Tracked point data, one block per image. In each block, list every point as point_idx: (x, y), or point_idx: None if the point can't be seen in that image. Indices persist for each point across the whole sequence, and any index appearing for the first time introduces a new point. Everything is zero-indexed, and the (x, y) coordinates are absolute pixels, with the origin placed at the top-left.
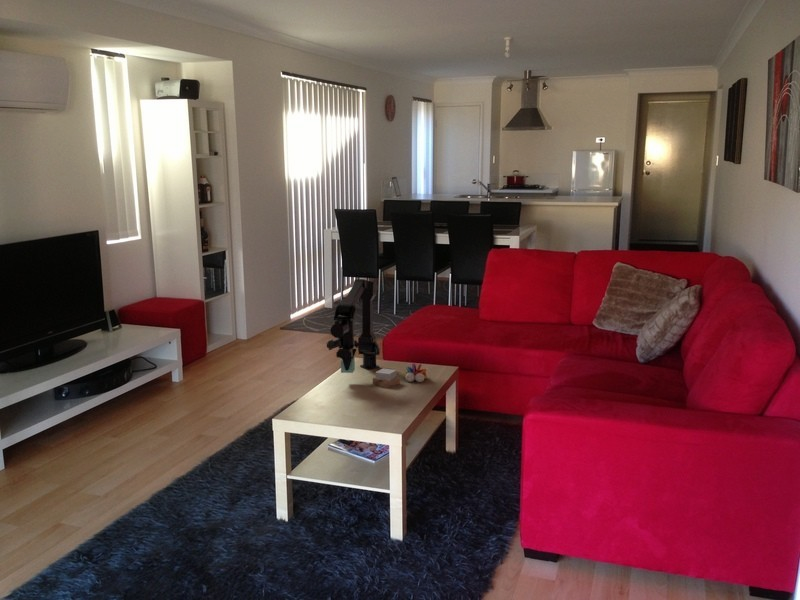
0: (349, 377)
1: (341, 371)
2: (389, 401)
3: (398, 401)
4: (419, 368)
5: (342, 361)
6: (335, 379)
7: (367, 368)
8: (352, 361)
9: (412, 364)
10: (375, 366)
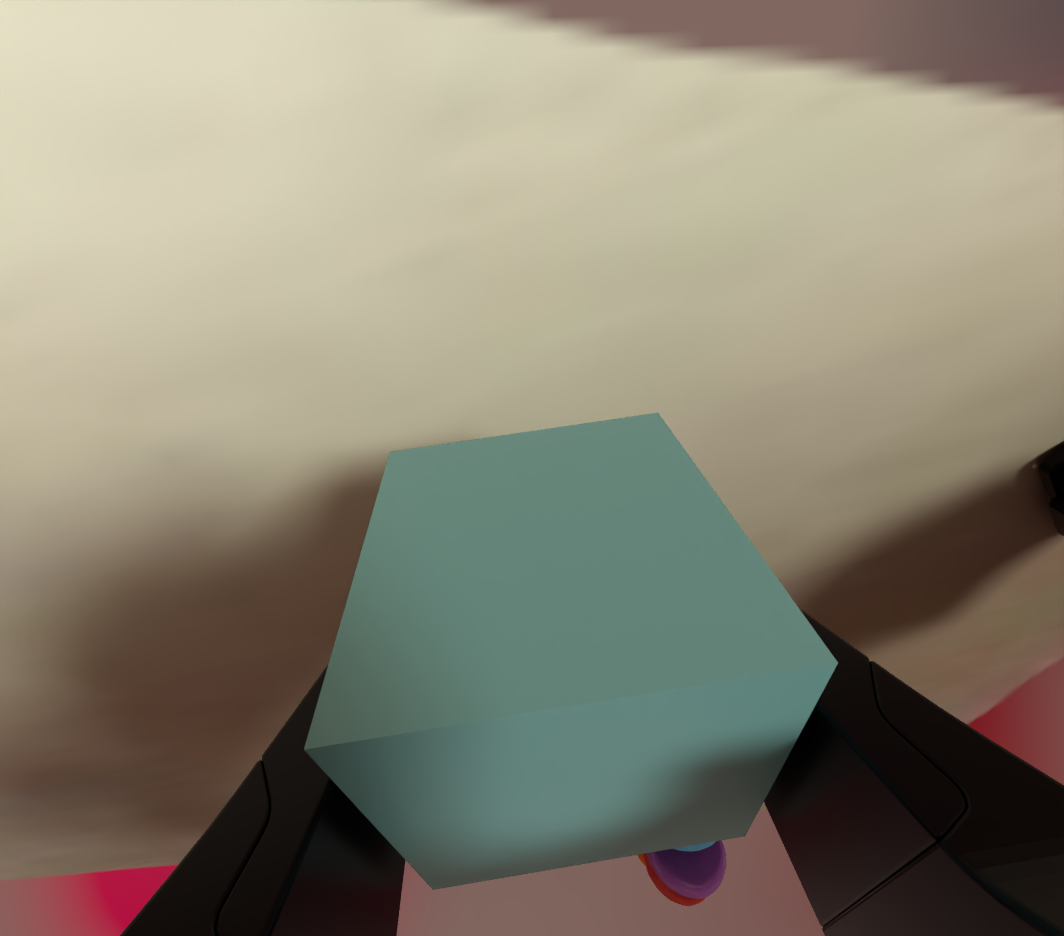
0: (777, 351)
1: (388, 475)
2: (170, 779)
3: (207, 801)
4: (653, 880)
5: (334, 763)
6: (697, 143)
7: (1050, 469)
8: (429, 878)
9: (693, 891)
10: (1060, 531)
